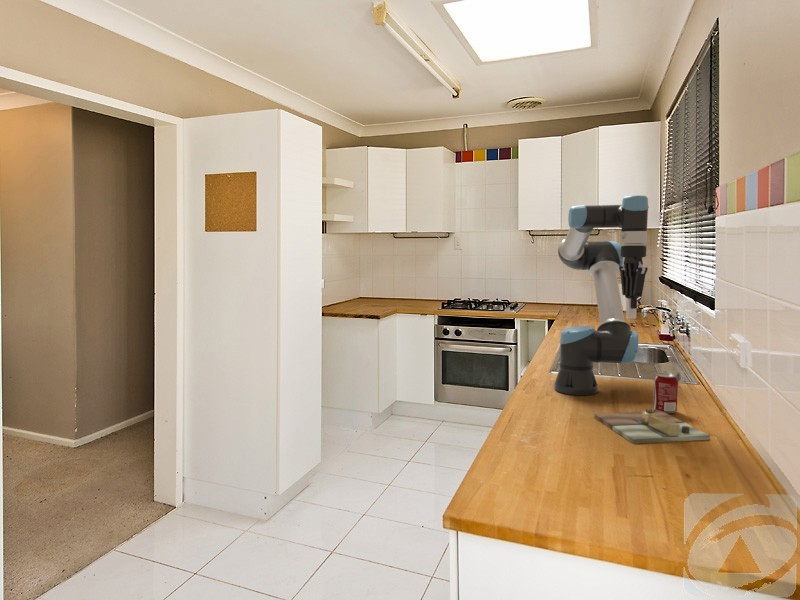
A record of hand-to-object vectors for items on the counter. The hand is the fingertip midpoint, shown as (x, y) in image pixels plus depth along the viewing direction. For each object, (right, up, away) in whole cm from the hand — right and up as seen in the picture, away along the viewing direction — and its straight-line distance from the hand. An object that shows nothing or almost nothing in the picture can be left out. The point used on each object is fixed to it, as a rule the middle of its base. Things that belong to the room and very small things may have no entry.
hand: (631, 318), depth 172 cm
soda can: (+10, -30, -2) cm, 32 cm away
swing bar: (-2, -30, -22) cm, 37 cm away
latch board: (-3, -31, -17) cm, 36 cm away
